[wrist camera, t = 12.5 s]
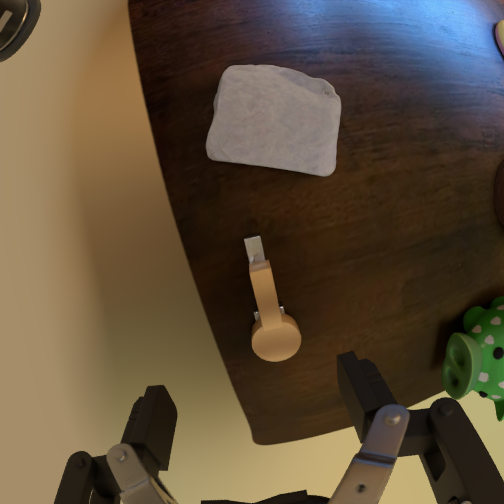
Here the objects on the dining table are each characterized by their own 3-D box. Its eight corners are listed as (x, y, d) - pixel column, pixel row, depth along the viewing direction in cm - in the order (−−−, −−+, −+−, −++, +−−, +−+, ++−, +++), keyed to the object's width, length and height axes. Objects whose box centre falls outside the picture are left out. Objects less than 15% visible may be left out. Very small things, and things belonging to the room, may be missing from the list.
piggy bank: (439, 301, 33) (508, 365, 18) (517, 271, 32) (578, 310, 18) (426, 378, 37) (470, 443, 23) (501, 342, 36) (547, 387, 22)
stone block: (218, 76, 26) (205, 168, 27) (217, 53, 21) (200, 158, 22) (331, 94, 27) (326, 183, 28) (348, 75, 22) (344, 177, 23)
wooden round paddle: (232, 267, 29) (232, 276, 27) (284, 255, 29) (288, 264, 27) (256, 354, 32) (257, 368, 30) (301, 345, 32) (304, 358, 30)
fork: (235, 237, 30) (235, 240, 28) (267, 230, 29) (268, 233, 28) (264, 352, 34) (265, 358, 33) (291, 346, 34) (292, 352, 33)
